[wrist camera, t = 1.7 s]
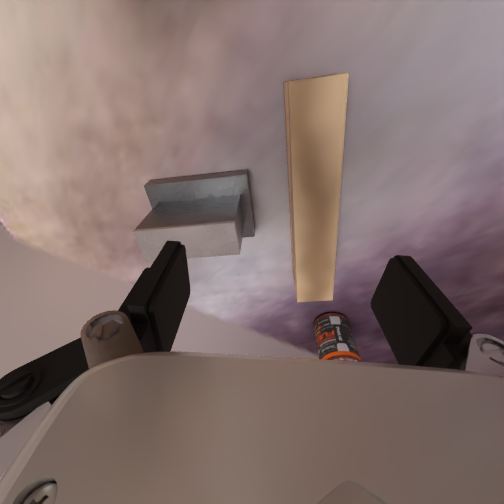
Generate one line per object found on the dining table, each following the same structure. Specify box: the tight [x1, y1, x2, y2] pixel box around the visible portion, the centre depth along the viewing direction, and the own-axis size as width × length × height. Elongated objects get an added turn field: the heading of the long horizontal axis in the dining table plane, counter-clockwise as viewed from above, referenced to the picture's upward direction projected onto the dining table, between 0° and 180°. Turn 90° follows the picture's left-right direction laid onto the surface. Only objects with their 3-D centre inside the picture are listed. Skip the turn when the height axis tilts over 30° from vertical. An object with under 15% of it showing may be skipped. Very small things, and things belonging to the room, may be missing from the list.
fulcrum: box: [133, 170, 255, 261], centre depth 28 cm, size 12×8×9 cm, turn 97°
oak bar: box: [283, 73, 349, 302], centre depth 28 cm, size 4×24×6 cm, turn 8°
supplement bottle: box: [314, 313, 361, 362], centre depth 39 cm, size 6×6×11 cm
